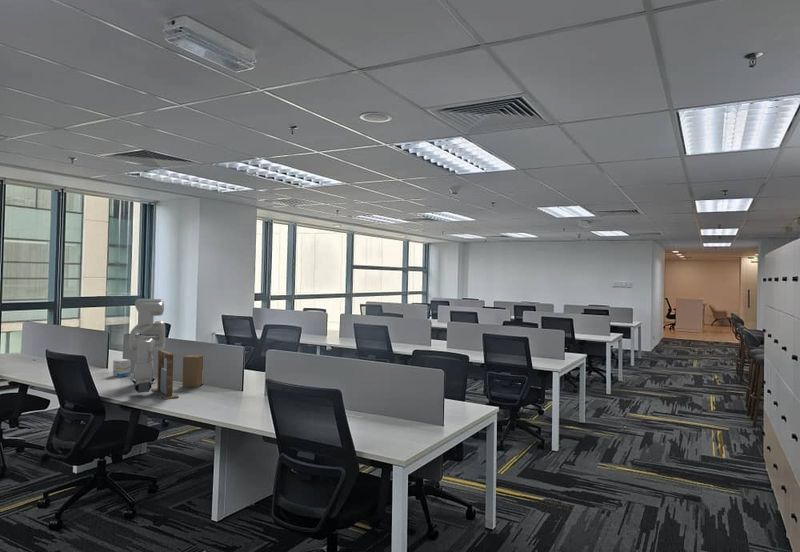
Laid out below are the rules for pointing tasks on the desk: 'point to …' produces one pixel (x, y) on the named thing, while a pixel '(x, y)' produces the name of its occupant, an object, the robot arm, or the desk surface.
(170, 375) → the door frame
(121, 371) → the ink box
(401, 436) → the desk surface
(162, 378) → the door leaf
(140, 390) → the wedge
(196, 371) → the wooden block
